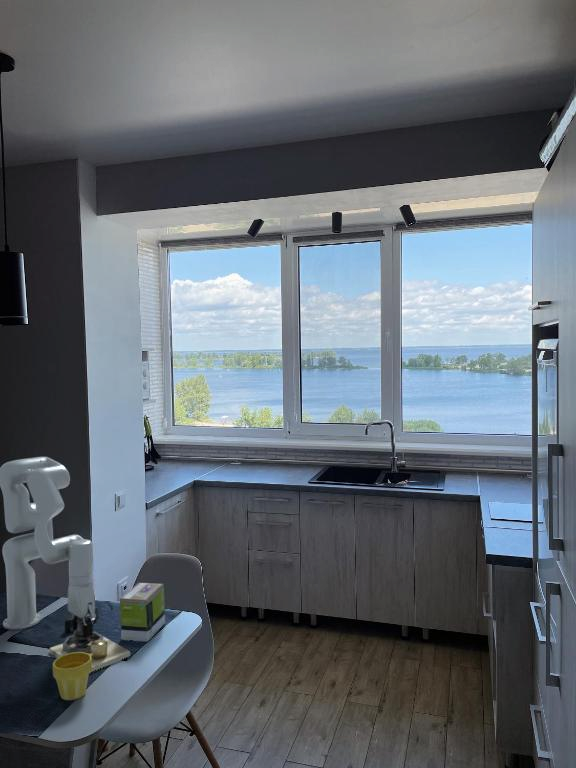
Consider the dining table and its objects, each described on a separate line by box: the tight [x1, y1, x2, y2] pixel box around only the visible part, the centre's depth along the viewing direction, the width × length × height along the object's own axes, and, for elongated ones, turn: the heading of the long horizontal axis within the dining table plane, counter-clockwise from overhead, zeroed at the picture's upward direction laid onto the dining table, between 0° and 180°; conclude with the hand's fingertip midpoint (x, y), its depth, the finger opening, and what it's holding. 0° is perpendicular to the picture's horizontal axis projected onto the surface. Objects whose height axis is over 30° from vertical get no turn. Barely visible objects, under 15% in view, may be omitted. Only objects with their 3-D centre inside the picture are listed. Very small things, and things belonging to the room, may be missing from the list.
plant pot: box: [52, 652, 92, 701], centre depth 169 cm, size 10×10×10 cm
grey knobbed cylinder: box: [72, 613, 91, 646], centre depth 194 cm, size 6×6×12 cm
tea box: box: [119, 582, 166, 643], centre depth 208 cm, size 15×10×15 cm
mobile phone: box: [64, 607, 100, 634], centre depth 214 cm, size 5×3×15 cm
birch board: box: [49, 635, 131, 674], centre depth 192 cm, size 22×16×2 cm
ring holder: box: [63, 631, 104, 653], centre depth 195 cm, size 12×12×2 cm
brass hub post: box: [91, 640, 108, 660], centre depth 188 cm, size 5×5×4 cm
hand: (82, 632), depth 195 cm, fingers closed on grey knobbed cylinder, 5 cm apart
